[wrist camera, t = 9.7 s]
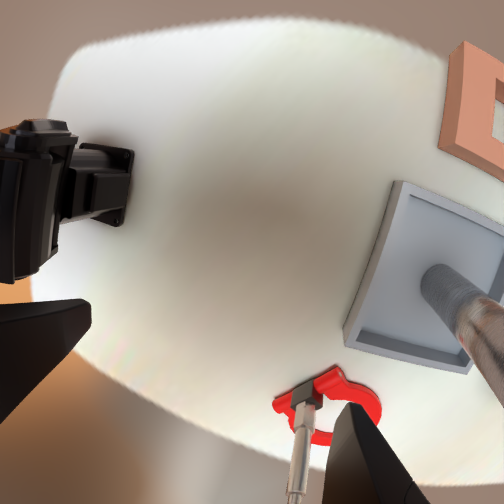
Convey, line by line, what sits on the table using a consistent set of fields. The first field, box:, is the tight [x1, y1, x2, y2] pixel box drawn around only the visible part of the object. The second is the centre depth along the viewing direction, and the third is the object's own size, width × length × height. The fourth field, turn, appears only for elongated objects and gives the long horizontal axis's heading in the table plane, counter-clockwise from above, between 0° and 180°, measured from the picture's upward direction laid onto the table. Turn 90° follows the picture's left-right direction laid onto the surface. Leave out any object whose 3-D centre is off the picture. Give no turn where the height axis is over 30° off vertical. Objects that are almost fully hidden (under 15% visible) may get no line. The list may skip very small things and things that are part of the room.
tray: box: [343, 181, 504, 375], centre depth 17 cm, size 11×11×2 cm
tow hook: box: [272, 367, 382, 504], centre depth 17 cm, size 8×13×9 cm
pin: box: [420, 264, 504, 408], centre depth 12 cm, size 3×3×12 cm
